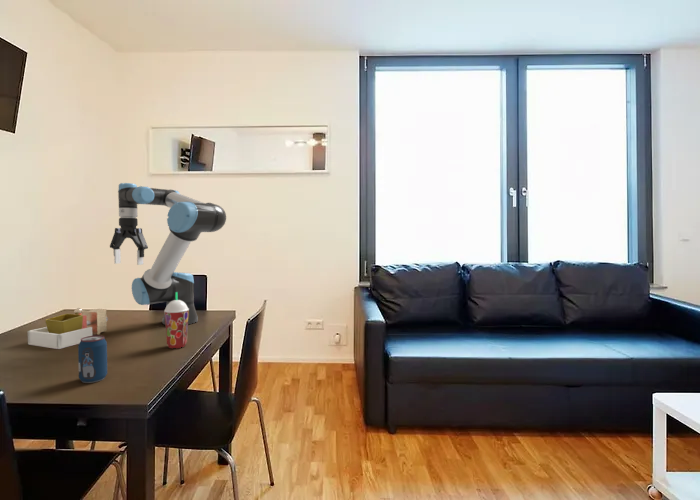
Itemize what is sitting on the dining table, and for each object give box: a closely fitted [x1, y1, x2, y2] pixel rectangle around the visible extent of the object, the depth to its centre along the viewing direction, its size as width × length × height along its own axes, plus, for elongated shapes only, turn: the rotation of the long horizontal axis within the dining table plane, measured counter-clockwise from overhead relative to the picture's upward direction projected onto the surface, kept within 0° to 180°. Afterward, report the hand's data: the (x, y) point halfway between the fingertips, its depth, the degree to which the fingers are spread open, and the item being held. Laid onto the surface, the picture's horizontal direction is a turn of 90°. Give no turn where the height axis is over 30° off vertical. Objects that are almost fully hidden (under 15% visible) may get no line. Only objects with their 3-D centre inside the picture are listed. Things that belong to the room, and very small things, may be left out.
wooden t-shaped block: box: [73, 307, 109, 336], centre depth 167 cm, size 9×13×11 cm
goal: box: [27, 326, 93, 350], centre depth 155 cm, size 16×13×5 cm
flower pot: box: [44, 313, 83, 334], centre depth 157 cm, size 9×9×9 cm
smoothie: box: [163, 292, 189, 349], centre depth 151 cm, size 8×8×20 cm
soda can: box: [77, 334, 108, 384], centre depth 117 cm, size 7×7×12 cm
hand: (128, 264), depth 189 cm, fingers open, 13 cm apart
